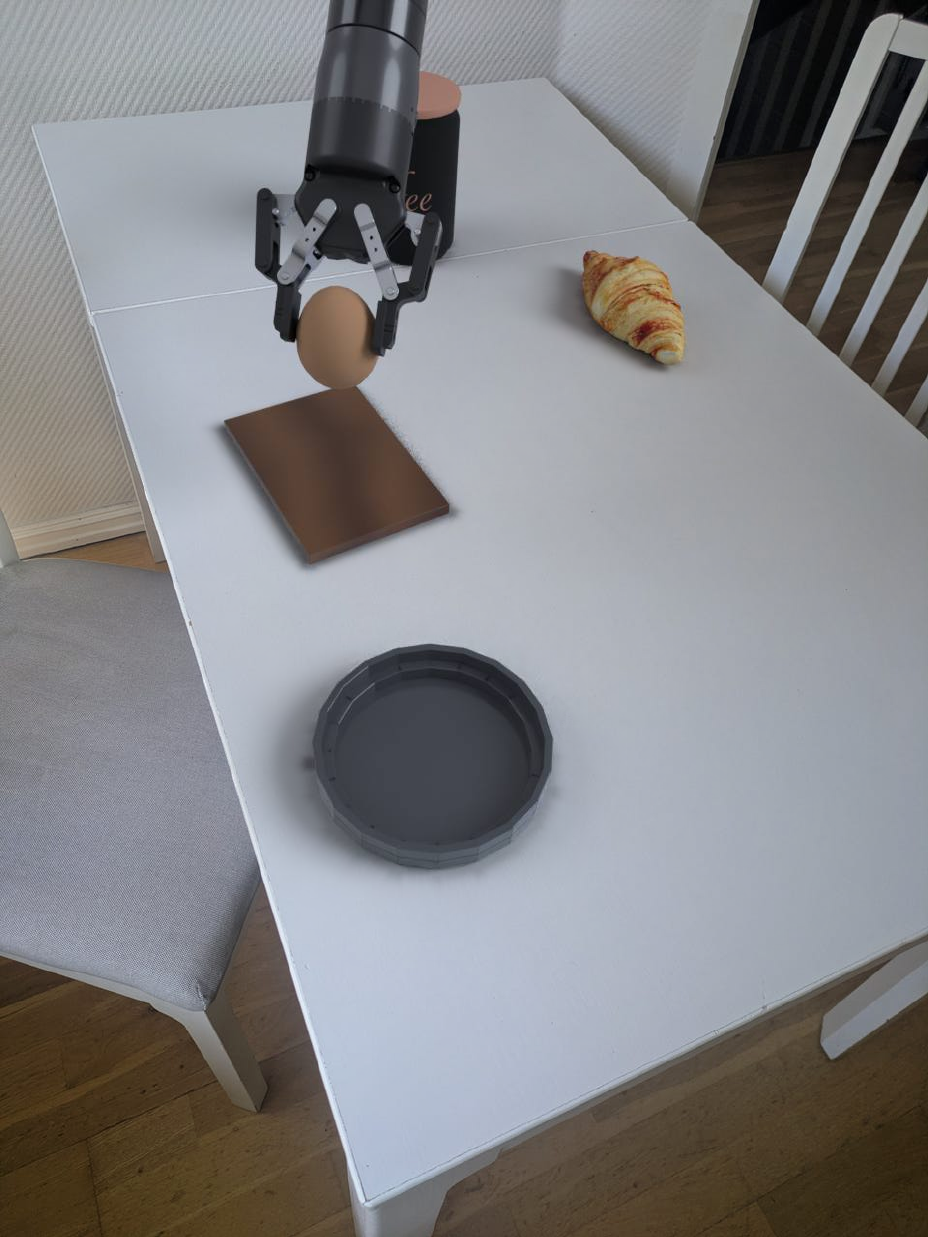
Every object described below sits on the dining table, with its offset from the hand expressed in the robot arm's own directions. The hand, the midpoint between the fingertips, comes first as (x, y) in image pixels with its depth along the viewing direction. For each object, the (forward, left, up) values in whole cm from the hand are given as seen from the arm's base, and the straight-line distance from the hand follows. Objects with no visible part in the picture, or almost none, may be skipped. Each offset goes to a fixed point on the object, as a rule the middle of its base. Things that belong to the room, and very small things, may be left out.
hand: (332, 346), depth 68 cm
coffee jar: (+28, +39, -18) cm, 51 cm away
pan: (-5, -26, -18) cm, 32 cm away
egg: (+1, +1, -5) cm, 5 cm away
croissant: (+43, +14, -18) cm, 49 cm away
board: (+2, +6, -18) cm, 19 cm away
